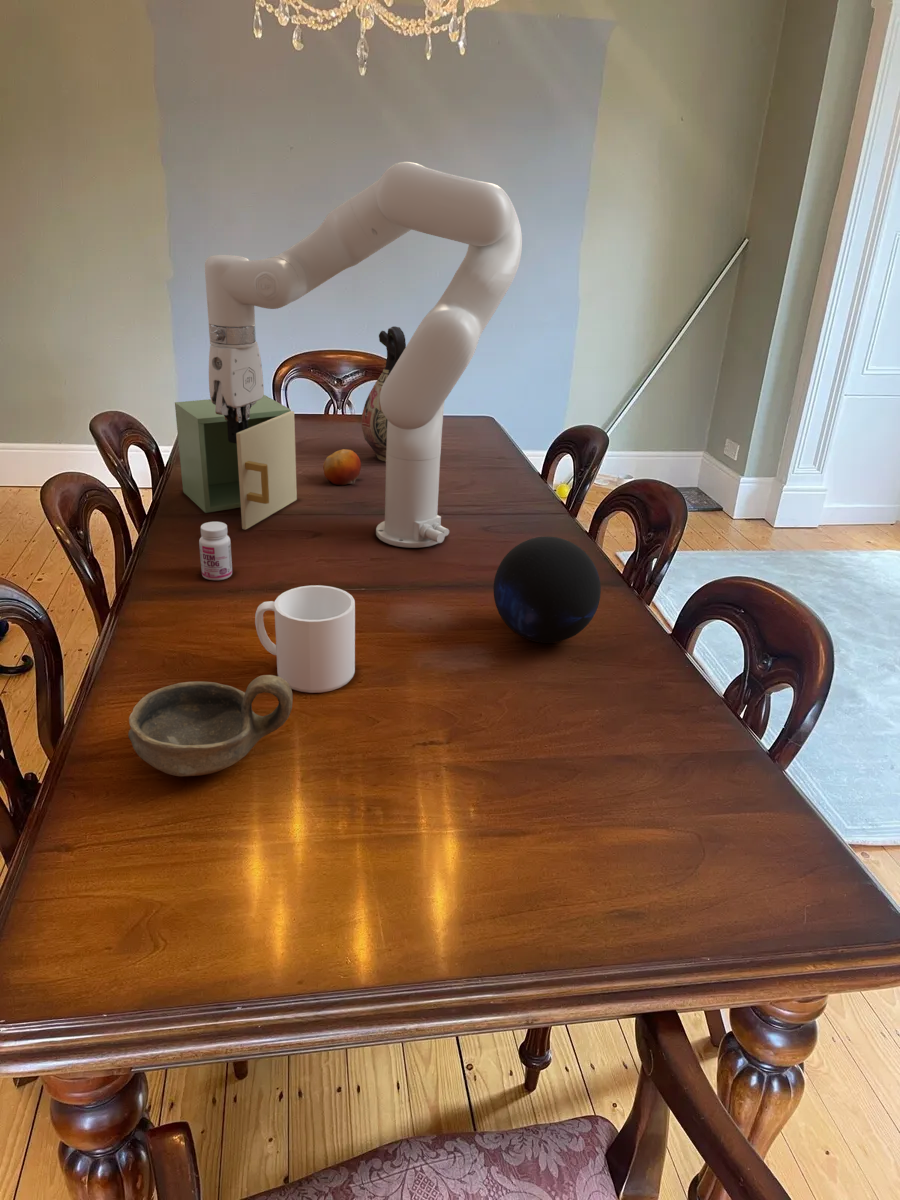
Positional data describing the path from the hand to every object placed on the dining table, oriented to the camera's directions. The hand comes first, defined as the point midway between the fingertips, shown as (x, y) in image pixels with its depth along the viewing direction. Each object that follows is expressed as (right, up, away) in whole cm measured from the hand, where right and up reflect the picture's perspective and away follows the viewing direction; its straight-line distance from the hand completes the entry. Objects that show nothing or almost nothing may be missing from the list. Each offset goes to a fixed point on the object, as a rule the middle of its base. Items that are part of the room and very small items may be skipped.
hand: (238, 442), depth 147 cm
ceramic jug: (+25, +5, +46) cm, 53 cm away
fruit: (+14, -3, +30) cm, 33 cm away
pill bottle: (0, -24, -14) cm, 28 cm away
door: (+5, -12, +10) cm, 17 cm away
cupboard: (-5, -7, +19) cm, 21 cm away
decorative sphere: (+51, -33, -26) cm, 66 cm away
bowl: (+11, -45, -55) cm, 72 cm away
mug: (+19, -38, -38) cm, 57 cm away
